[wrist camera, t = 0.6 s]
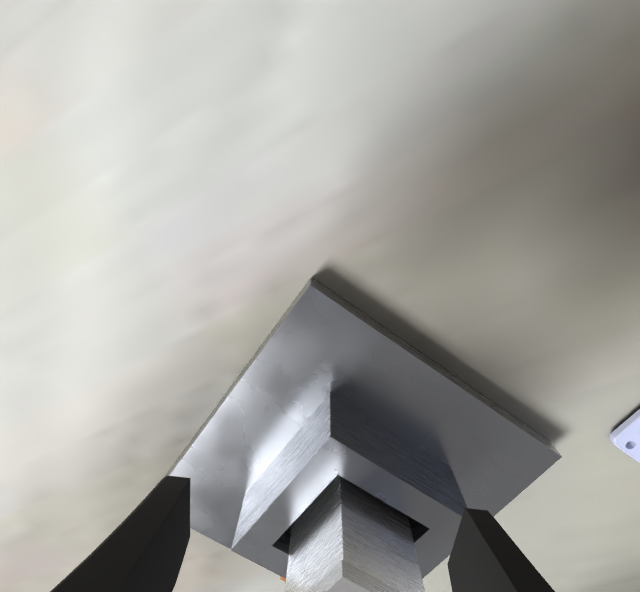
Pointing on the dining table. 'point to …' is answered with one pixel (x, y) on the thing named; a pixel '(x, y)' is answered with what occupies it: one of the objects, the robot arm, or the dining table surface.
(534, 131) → the dining table surface
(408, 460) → the stand base
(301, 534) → the steel column
